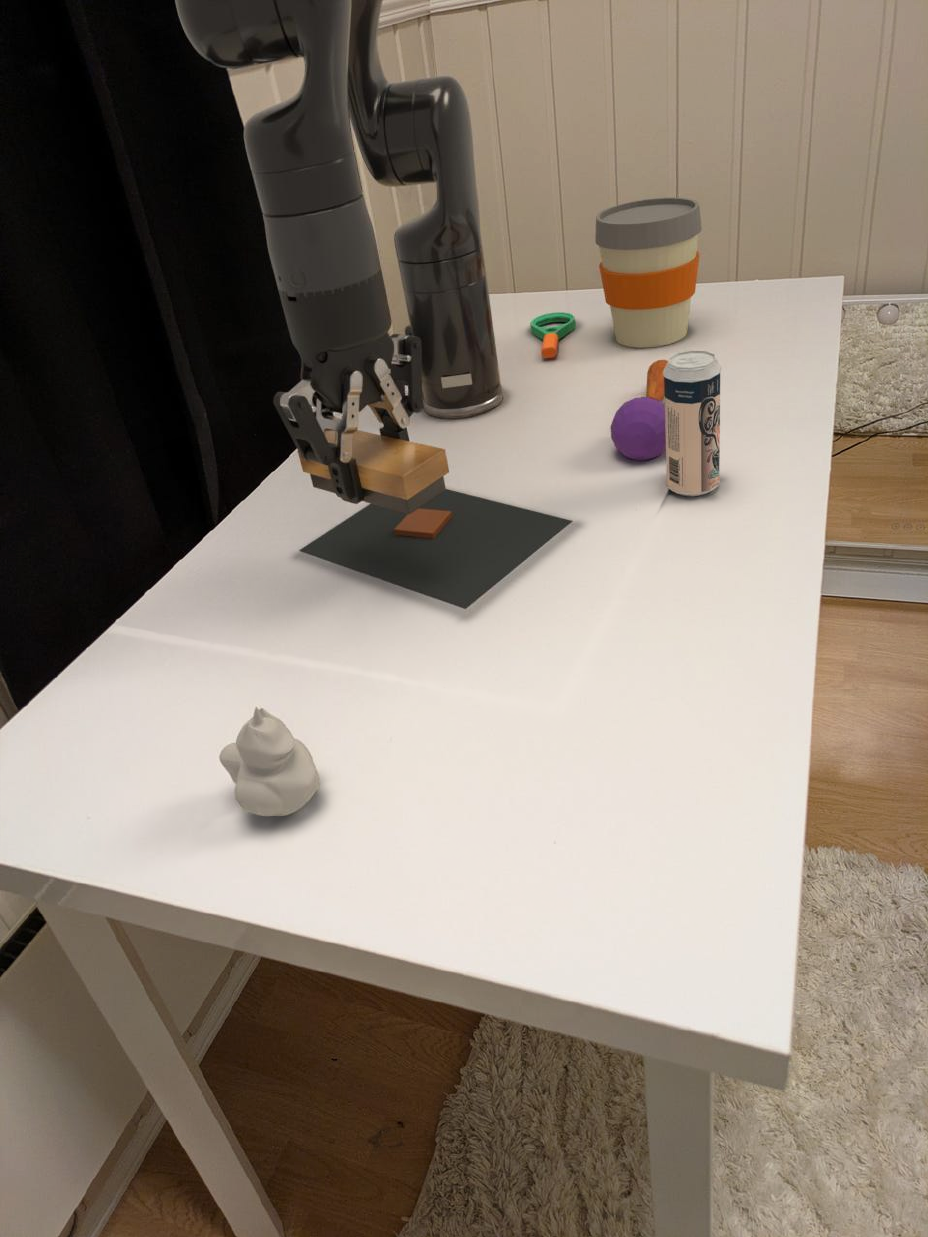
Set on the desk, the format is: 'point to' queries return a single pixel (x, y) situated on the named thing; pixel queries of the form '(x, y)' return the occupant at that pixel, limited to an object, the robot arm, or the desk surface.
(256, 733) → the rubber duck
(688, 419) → the beer can
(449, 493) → the mat
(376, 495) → the brush
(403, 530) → the brown square tile
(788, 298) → the desk surface
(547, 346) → the toy tennis racket
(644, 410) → the maraca
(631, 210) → the reusable coffee cup
